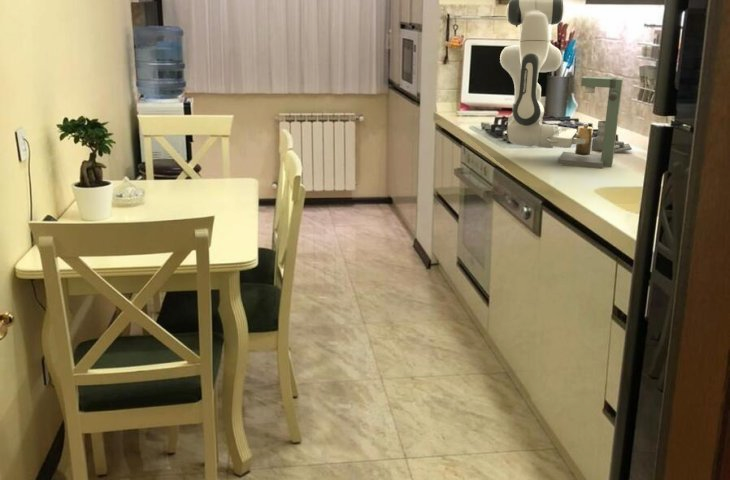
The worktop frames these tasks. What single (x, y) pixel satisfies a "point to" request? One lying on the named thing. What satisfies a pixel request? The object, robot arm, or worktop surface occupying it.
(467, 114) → the worktop surface
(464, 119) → the worktop surface
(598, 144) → the camera
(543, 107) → the robot arm
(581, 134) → the tan upright block
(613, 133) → the press
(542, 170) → the worktop surface
